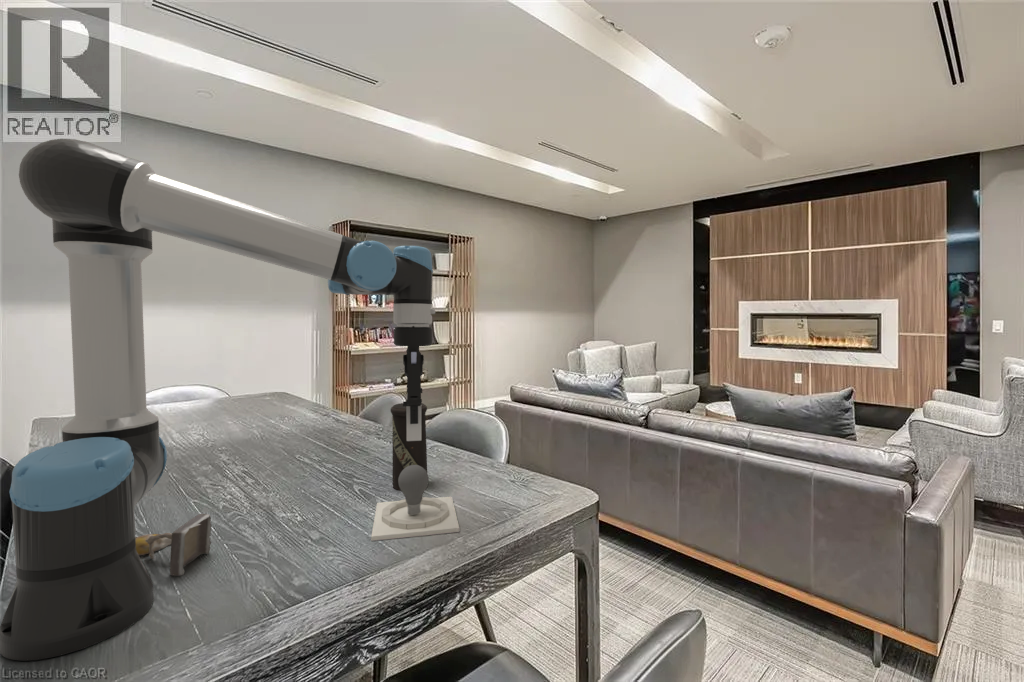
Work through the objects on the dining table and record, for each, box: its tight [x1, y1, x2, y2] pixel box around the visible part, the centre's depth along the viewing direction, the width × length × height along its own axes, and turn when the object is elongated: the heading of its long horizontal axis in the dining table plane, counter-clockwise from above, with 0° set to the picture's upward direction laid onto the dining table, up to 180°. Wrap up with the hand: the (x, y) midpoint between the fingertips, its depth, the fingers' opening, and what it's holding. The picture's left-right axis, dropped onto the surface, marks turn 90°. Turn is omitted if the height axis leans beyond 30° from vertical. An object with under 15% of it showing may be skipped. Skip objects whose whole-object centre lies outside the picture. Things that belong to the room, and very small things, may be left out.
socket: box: [370, 496, 460, 542], centre depth 94 cm, size 16×16×2 cm
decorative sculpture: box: [135, 513, 213, 577], centre depth 80 cm, size 16×10×7 cm, turn 69°
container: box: [390, 402, 428, 491], centre depth 113 cm, size 9×9×20 cm
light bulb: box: [398, 465, 430, 515], centre depth 94 cm, size 6×6×10 cm
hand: (413, 432), depth 94 cm, fingers open, 13 cm apart
